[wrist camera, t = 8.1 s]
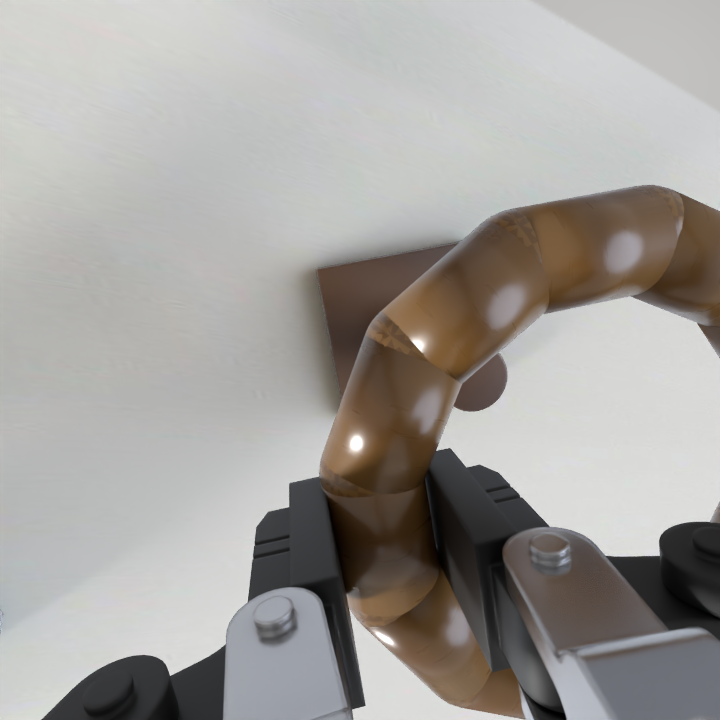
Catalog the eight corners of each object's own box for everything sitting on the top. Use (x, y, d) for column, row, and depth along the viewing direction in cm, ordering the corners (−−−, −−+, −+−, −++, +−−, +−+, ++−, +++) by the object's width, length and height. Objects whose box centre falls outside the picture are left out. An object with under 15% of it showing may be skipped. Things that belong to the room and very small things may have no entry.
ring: (272, 253, 10) (270, 253, 8) (793, 157, 11) (901, 136, 9) (372, 723, 12) (389, 809, 10) (789, 605, 14) (872, 664, 12)
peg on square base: (315, 268, 30) (333, 280, 18) (466, 240, 30) (578, 234, 19) (343, 415, 32) (376, 513, 20) (484, 385, 33) (596, 463, 21)
